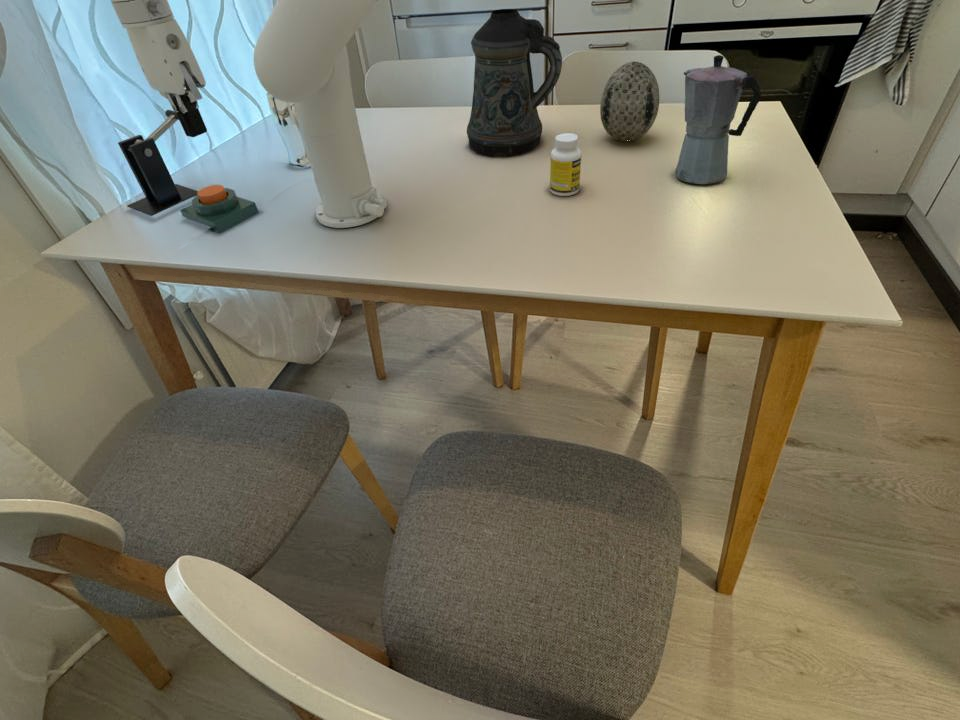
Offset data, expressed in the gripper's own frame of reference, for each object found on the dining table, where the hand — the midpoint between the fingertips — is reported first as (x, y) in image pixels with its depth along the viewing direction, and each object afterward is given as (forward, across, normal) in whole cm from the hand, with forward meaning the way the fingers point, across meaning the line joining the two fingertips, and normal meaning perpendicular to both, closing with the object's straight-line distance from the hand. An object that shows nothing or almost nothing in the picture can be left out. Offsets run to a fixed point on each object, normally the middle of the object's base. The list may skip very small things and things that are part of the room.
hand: (197, 133), depth 95 cm
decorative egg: (+17, -53, -63) cm, 84 cm away
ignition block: (+15, +1, +2) cm, 15 cm away
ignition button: (+11, +1, +2) cm, 12 cm away
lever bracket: (+15, +17, +4) cm, 23 cm away
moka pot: (+17, -73, -52) cm, 91 cm away
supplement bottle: (+17, -53, -36) cm, 66 cm away
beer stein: (+16, -31, -52) cm, 63 cm away
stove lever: (+3, +16, -1) cm, 17 cm away
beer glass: (+15, +6, -23) cm, 28 cm away
